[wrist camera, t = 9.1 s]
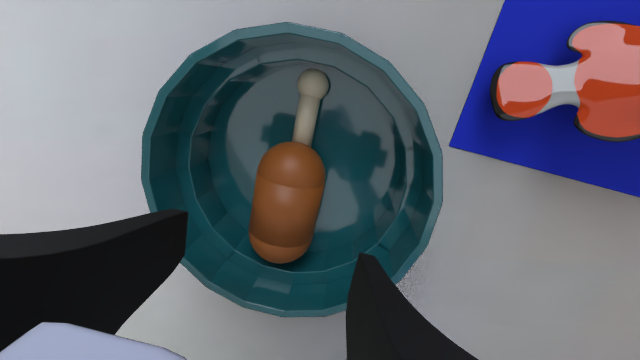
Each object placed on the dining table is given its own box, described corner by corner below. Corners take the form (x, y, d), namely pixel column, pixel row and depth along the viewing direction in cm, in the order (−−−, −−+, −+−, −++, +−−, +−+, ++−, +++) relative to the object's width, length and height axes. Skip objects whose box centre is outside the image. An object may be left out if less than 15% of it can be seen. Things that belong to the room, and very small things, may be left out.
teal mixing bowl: (384, 285, 22) (393, 345, 17) (186, 237, 23) (137, 281, 18) (451, 70, 18) (491, 63, 13) (204, 19, 19) (146, -8, 13)
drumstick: (313, 251, 22) (297, 285, 18) (259, 235, 22) (233, 265, 18) (352, 76, 18) (343, 72, 14) (287, 63, 19) (262, 55, 15)
